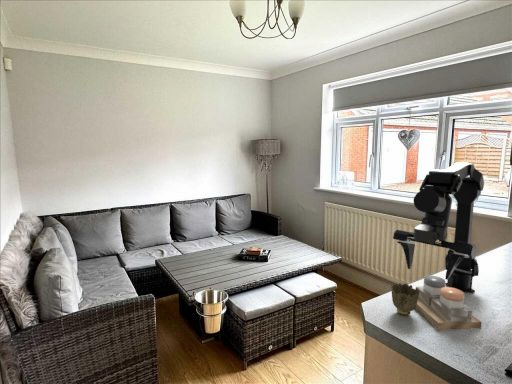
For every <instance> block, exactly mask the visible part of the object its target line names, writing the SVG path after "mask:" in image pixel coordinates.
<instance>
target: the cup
mask: <svg viewBox="0 0 512 384" xmlns="http://www.w3.org/2000/svg"><path fill="white" fill-rule="evenodd" d="M419 292H420V290H418V288H416V287H415V288H413V285H412V284H410V285H409V284H407V283H403V284H401V282H399V284H398V283H393V284H392V285H391V298H392V299H391V301H392V304H393V306H394V307H395V308H396V312H397V314H399V315H400V316H403V317H408V316H410V315H411V312H412V311H414V310H416V309H415V307H416V305H417V301H418V297H419Z"/></svg>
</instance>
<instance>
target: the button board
mask: <svg viewBox="0 0 512 384" xmlns="http://www.w3.org/2000/svg"><path fill="white" fill-rule="evenodd" d="M416 288H418V290H420V292H419V297H418V301H417V305H416V307H415V309H414V310H416V311H417V312H418V313H419V314H420V315H421V316H422V317H423V318H424V319H425V320H427V321H428V322H429V323H430V325H432V326H433V327H434V329H436V330H437V331H447V330H449V331H451V330H481V329H482V325H483V324H482V321H481V320H480V319H478V317H476V316H475V315H473V310H472V309H471V308H469V307H468V306H466V305H465V304H463V309H448V308H447V307H445V306H444V305H443V304H442V303H440V295H430V294H429V293H427V292H426V291H425V290H424V289H423V288H424V285H422V286H415V289H416Z"/></svg>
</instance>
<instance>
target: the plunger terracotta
mask: <svg viewBox="0 0 512 384" xmlns="http://www.w3.org/2000/svg"><path fill="white" fill-rule="evenodd" d="M464 302H465V292H462V291H461V290H459V289H456V288H451V287H448V286H445V287H443V288H441V292H440V303H442V304H443V305H444V306H445V307H447V308H448V309H463V304H464ZM464 305H465V304H464Z"/></svg>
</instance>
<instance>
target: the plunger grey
mask: <svg viewBox="0 0 512 384" xmlns="http://www.w3.org/2000/svg"><path fill="white" fill-rule="evenodd" d="M445 283H446V279H445V278H443V277H440V276H437V275H424V276H423V286H424V288H423V289H424V290H425V291H426V292H427V293H429V294H430V295H440V292H441V288H443V287H446V285H445Z"/></svg>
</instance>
